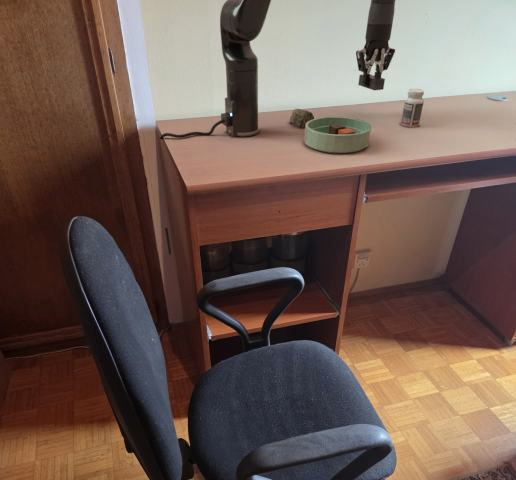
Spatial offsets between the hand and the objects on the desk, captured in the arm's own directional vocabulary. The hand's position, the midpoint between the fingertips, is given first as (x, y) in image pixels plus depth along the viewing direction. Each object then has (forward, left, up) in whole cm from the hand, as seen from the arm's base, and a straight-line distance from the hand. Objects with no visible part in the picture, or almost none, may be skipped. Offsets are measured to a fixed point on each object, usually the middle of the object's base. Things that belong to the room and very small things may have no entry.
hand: (370, 85), depth 147 cm
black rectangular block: (0, 0, 0) cm, 0 cm away
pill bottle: (+7, -14, -10) cm, 18 cm away
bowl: (-25, -20, -9) cm, 33 cm away
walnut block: (-23, -17, -9) cm, 30 cm away
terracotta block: (-23, -22, -9) cm, 34 cm away
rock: (-24, +2, -10) cm, 26 cm away
